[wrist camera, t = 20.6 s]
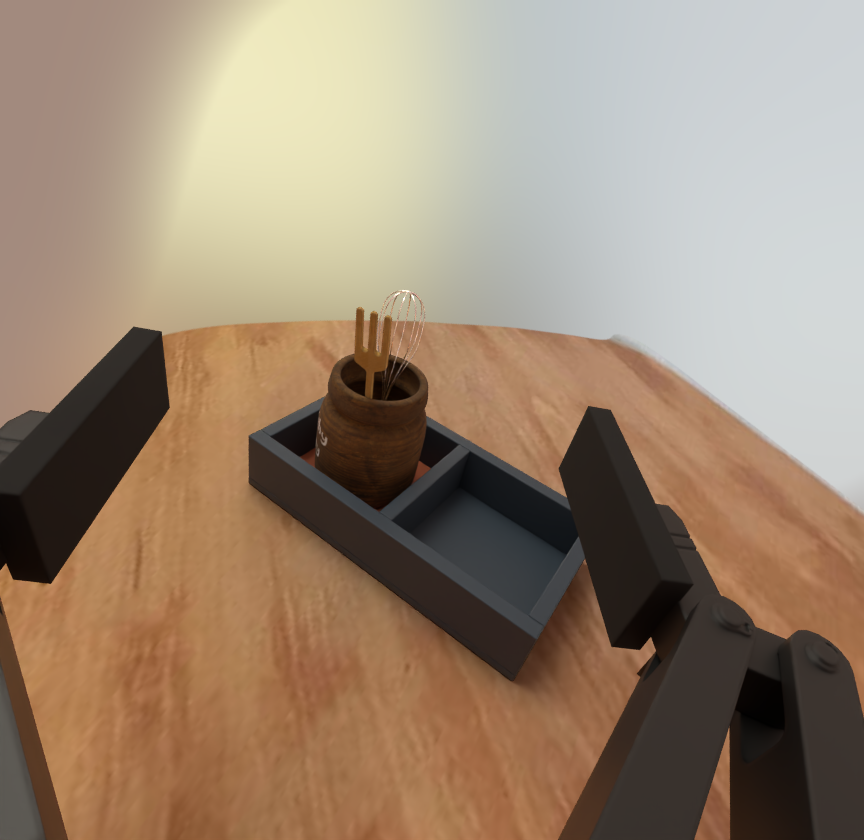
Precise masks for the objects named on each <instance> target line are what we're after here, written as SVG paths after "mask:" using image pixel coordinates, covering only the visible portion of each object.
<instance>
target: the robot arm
mask: <svg viewBox="0 0 864 840" xmlns="http://www.w3.org/2000/svg"><path fill="white" fill-rule="evenodd" d="M169 408H170V406H169V397H168V387H167V378H166V369H165V359H164V350H163V341H162V332H161V331H155V330H150V329H143V328H138V327H133V328H132V329H131V330H130V331H129V332H128V333H127V334H126V335H125V336H124V337H123V338H122V339H121V340H120V341H119V342H118V343H117V344H116V345H115V346H114V347H113V348H112V350H110V351H109V353H108V354H107V355H106V356H105V357H104V358H103V359H102V360H101V361H100V362H99V363H98V364H97V365H96V366H95V367H94V368H93V369H92V370H91V371H90V372H89V373H88V374H87V375H86V376H85V377H84V378H83V379H82V380H81V382H79V383H78V384H77V385H76V386H75V387H74V388H73V390H71V392H70V393H69V394H68V395H67V396H66V397H65V398H64V399H63V400H62V401H61V402H60V403H59V404H58V405H57V406H56V407H55V408H54V409H53V410H52V411H51V412H50V413H45V412H39V411H32V410H30V411H28V412H26V413H24V414H22V415H20V416H18V417H16V418H14V419H12V420H10V421H8V422H7V423H6V424H5V425H4V426H3V427H1V428H0V570H1V569H2V567H3V566H4V565H5V564H7V566H8V569H9V571H10V573H11V576H12V578H13V580H22V581H31V582H40V583H49V584H51V583H52V581H53V580H54V579H55V577H56V576H57V574H58V573H59V571H60V570H61V568H62V567H63V565H64V564H65V562H66V561H67V559H68V558H69V556H70V555H71V553H72V552H73V550H74V549H75V547H76V546H77V544H78V543H79V541H80V540H81V538H82V537H83V535H84V534H85V533H86V531H87V530H88V528H89V527H90V525H91V524H92V522H93V521H94V519H95V518H96V516H97V515H98V513H99V512H100V510H101V509H102V507H103V506H104V504H105V503H106V501H107V500H108V498H109V497H110V495H111V494H112V492H113V491H114V490H115V488H116V487H117V485H118V484H119V482H120V481H121V479H122V478H123V476H124V475H125V473H126V472H127V470H128V469H129V467H130V466H131V464H132V463H133V461H134V460H135V458H136V457H137V455H138V454H139V452H140V451H141V449H142V448H143V447H144V445H145V444H146V442H147V441H148V439H149V438H150V436H151V435H152V433H153V432H154V430H155V429H156V427H157V426H158V424H159V423H160V421H161V420H162V418H163V417H164V415H165V414H166V412H167V411H168V409H169ZM559 472H560V475H561V478H562V482H563V485H564V488H565V492H566V495H567V499H568V502H569V505H570V509H571V512H572V515H573V519H574V522H575V525H576V529H577V532H578V536H579V539H580V542H581V546H582V549H583V552H584V556H585V559H586V563H587V566H588V569H589V573H590V576H591V579H592V583H593V586H594V589H595V593H596V596H597V600H598V603H599V606H600V610H601V613H602V616H603V620H604V623H605V627H606V630H607V633H608V637H609V640H610V643H611V647H618V648H627V649H636V650H640V649H641V648H642V647H643V646H644V644H645V643H646V642H647V641H648V639H649V638H650V637H651V638H652V641H653V644H654V646H655V649H656V652H655V653H654V654H653V656H652V657H651V658H650V659H649V660H648V661H647V663H646V664H645V665H644V666H643V667H642V668H641V670H640V671H639V672H638V673H637V674H638V675H639V676H640V679H639V681H638V683H637V685H636V687H635V689H634V691H633V693H632V695H631V697H630V699H629V701H628V703H627V705H626V707H625V709H624V711H623V713H622V715H621V717H620V719H619V721H618V723H617V725H616V727H615V729H614V730H613V732H612V734H611V736H610V738H609V740H608V742H607V744H606V746H605V748H604V750H603V752H602V754H601V756H600V758H599V760H598V762H597V764H596V766H595V768H594V770H593V772H592V774H591V776H590V778H589V780H588V782H587V784H586V786H585V788H584V790H583V791H582V793H581V795H580V797H579V799H578V801H577V803H576V805H575V807H574V809H573V811H572V813H571V815H570V817H569V819H568V821H567V823H566V825H565V827H564V829H563V831H562V833H561V835H560V837H559V839H558V840H694V838H695V835H696V832H697V829H698V825H699V822H700V819H701V816H702V812H703V809H704V806H705V803H706V800H707V796H708V793H709V790H710V787H711V783H712V780H713V777H714V774H715V771H716V767H717V764H718V761H719V758H720V754H721V751H722V748H723V745H724V742H725V738H726V735H727V732H728V729H729V725H730V840H864V717H863V713H862V708H861V704H860V700H859V695H858V691H857V686H856V682H855V677H854V673H853V670H852V668H851V666H850V663H849V661H848V660H847V659H846V658H845V656H844V655H843V654H842V652H841V651H840V650H839V649H838V648H837V647H835V646H834V645H833V644H832V643H831V642H830V641H828V640H827V639H825V638H823V637H822V636H820V635H819V634H816V633H813V632H810V631H807V630H798V631H796V632H795V633H794V634H792V635H791V636H790V637H789V638H788V639H787V640H786V639H784V638H782V637H779V636H777V635H774V634H772V633H769V632H767V631H764V630H762V629H760V628H757V627H755V625H754V623H753V621H752V619H751V618H750V617H749V615H748V614H747V613H746V612H745V610H744V609H742V608H741V607H740V606H739V605H737V604H736V603H735V602H733V601H731V600H730V599H728V598H726V597H724V596H721V595H720V593H719V591H718V589H717V587H716V585H715V583H714V581H713V580H712V578H711V576H710V574H709V572H708V570H707V568H706V566H705V564H704V562H703V560H702V558H701V556H700V554H699V552H698V551H696V547H695V545H694V543H693V541H692V539H690V535H689V533H688V531H687V529H686V527H685V525H684V523H683V521H682V520H681V519H680V518H679V517H678V516H677V514H676V513H675V512H674V511H673V510H672V509H671V508H670V507H669V506H667V505H660V504H655V502H654V500H653V497H652V495H651V493H650V491H649V489H648V487H647V485H646V483H645V481H644V479H643V477H642V474H641V472H640V470H639V468H638V466H637V464H636V462H635V460H634V458H633V456H632V453H631V451H630V449H629V447H628V445H627V443H626V441H625V439H624V437H623V435H622V433H621V430H620V428H619V426H618V424H617V422H616V420H615V418H614V416H613V414H612V412H611V410H608V409H602V408H597V407H591V406H588V408H587V410H586V412H585V414H584V416H583V419H582V421H581V423H580V425H579V427H578V429H577V431H576V433H575V435H574V438H573V440H572V442H571V444H570V446H569V448H568V450H567V452H566V454H565V456H564V459H563V461H562V463H561V465H560V467H559ZM0 840H68V838H67V834H66V830H65V827H64V823H63V820H62V816H61V813H60V809H59V805H58V802H57V798H56V795H55V791H54V787H53V784H52V780H51V777H50V773H49V770H48V766H47V762H46V759H45V755H44V752H43V748H42V744H41V741H40V737H39V734H38V730H37V727H36V723H35V719H34V716H33V712H32V709H31V705H30V701H29V698H28V694H27V691H26V687H25V684H24V680H23V676H22V673H21V669H20V666H19V662H18V658H17V655H16V651H15V648H14V644H13V641H12V637H11V633H10V630H9V626H8V623H7V619H6V615H5V612H4V608H3V605H2V601H1V598H0Z"/></svg>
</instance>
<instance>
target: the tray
mask: <svg viewBox="0 0 864 840" xmlns="http://www.w3.org/2000/svg"><path fill="white" fill-rule="evenodd" d="M324 398H325V397H323V398H321V399H319V400H317V401H315V402H313V403H311V404H309V405H307V406H305V407H303V408H302V409H300V410H298V411H296V412H294V413H292V414H290V415H288V416H286V417H284V418H282V419H280V420H278V421H276V422H275V423H273V424H271V425H269V426H267V427H265V428H263V429H261V430H259V431H257V432H255V433H253V434H251V435H249V483H250V484H251V485H252V486H254V487H255V488H256V489H258V490H259V491H260V492H262V493H263V494H264V495H266V496H267V497H268V498H270V499H271V500H272V501H274V502H275V503H276V504H278V505H279V506H280V507H282V508H283V509H284V510H286V511H287V512H288V513H290V514H291V515H292V516H294V517H295V518H296V519H298V520H299V521H300V522H302V523H303V524H304V525H306V526H307V527H308V528H310V529H311V530H312V531H313V532H315V533H316V534H317V535H319V536H320V537H321V538H323V539H324V540H325V541H327V542H328V543H329V544H331V545H332V546H333V547H335V548H336V549H337V550H339V551H340V552H341V553H343V554H344V555H345V556H347V557H348V558H349V559H351V560H352V561H353V562H355V563H356V564H357V565H359V566H360V567H361V568H363V569H364V570H365V571H367V572H368V573H369V574H371V575H372V576H373V577H375V578H376V579H377V580H379V581H380V582H381V583H382V584H384V585H385V586H386V587H388V588H389V589H390V590H392V591H393V592H394V593H396V594H397V595H398V596H400V597H401V598H402V599H404V600H405V601H406V602H408V603H409V604H410V605H412V606H413V607H414V608H416V609H417V610H418V611H420V612H421V613H422V614H424V615H425V616H426V617H428V618H429V619H430V620H432V621H433V622H434V623H436V624H437V625H438V626H440V627H441V628H442V629H444V630H445V631H446V632H447V633H449V634H450V635H451V636H453V637H454V638H455V639H457V640H458V641H459V642H461V643H462V644H463V645H465V646H466V647H467V648H469V649H470V650H471V651H473V652H474V653H475V654H477V655H478V656H479V657H481V658H482V659H483V660H485V661H486V662H487V663H489V664H490V665H491V666H493V667H494V668H495V669H497V670H498V671H499V672H501V673H502V674H503V675H505V676H506V677H507V678H509V679H510V680H511V681H514V679H515V677H516V675H517V674H518V672H519V670H520V669H521V667H522V665H523V663H524V662H525V660H526V658H527V657H528V655H529V653H530V652H531V650H532V648H533V646H534V645H535V643H536V641H537V640H538V638H539V636H540V634H541V633H542V631H543V629H544V628H545V626H546V624H547V622H548V621H549V619H550V617H551V616H552V614H553V612H554V610H555V609H556V607H557V605H558V604H559V602H560V600H561V598H562V597H563V595H564V593H565V592H566V590H567V588H568V587H569V585H570V583H571V581H572V580H573V578H574V576H575V575H576V573H577V571H578V569H579V568H580V566H581V564H582V563H583V561H584V559H585V556H584V552H583V549H582V546H581V542H580V539H579V536H578V532H577V529H576V525H575V522H574V519H573V515H572V512H571V509H570V505H569V502H568V499H567V498H566V497H564V496H563V495H561V494H559V493H558V492H556V491H554V490H552V489H551V488H549V487H547V486H546V485H544V484H542V483H541V482H539V481H537V480H535V479H534V478H532V477H530V476H529V475H527V474H525V473H523V472H522V471H520V470H518V469H517V468H515V467H513V466H511V465H510V464H508V463H506V462H505V461H503V460H501V459H499V458H498V457H496V456H494V455H493V454H491V453H489V452H487V451H486V450H484V449H482V448H481V447H479V446H477V445H475V444H474V443H472V442H470V441H469V440H467V439H465V438H463V437H462V436H460V435H458V434H457V433H455V432H453V431H451V430H450V429H448V428H446V427H445V426H443V425H441V424H439V423H438V422H436V421H434V420H433V419H431V418H429V417H427V416H426V418H427V426H426V433H425V438H424V443H423V447H422V451H421V455H420V459H419V463H418V467H417V470H416V474H415V477H414V480H413V482H412V484H411V486H409V487H408V488H407V489H406V490H405V491H403V492H402V493H401V494H400V495H399V496H397V497H396V498H395V499H394V500H393V501H391V502H390V503H389V504H388V505H385V506H381V507H374V508H372V507H371V506H369V505H368V504H366V503H365V502H364V501H362V500H361V499H359V498H358V497H356V496H355V495H353V494H352V493H351V492H349V491H348V490H346V489H345V488H343V487H342V486H340V485H339V484H338V483H336V482H335V481H333V480H332V479H330V478H329V477H327V476H326V475H325V474H323V473H322V472H320V471H319V470H317V469H316V468H315V447H316V436H317V426H318V418H319V412H320V408H321V405H322V402H323V400H324Z"/></svg>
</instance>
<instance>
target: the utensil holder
mask: <svg viewBox="0 0 864 840" xmlns="http://www.w3.org/2000/svg"><path fill="white" fill-rule="evenodd" d="M402 291H404V292H407V293H410V299H411V295H412V294H413V295H415V296H416V297H417V298H418V299H419V300H420V298H419V297H418V296H417V295H416V294H415V293H413V292H410V291H406V290H401V292H399V291H396V292H399V293H398V294H396V295H397V296H398V295H399V294H400V293H404V292H402ZM396 292H393V293H396ZM393 293H392V294H393ZM407 293H406V295H407ZM392 294H390V295H392ZM390 295H389V296H390ZM396 295H395V296H396ZM406 295H405V297H406ZM389 296H388V297H387V299H388V298H389ZM395 296H393V297H392V299H393V298H394V297H395ZM397 296H396V297H397ZM405 297H404V299H405ZM412 297H413V296H412ZM387 299H386V300H387ZM392 299H391V300H392ZM404 299H403V301H404ZM413 299H414V297H413ZM386 300H385V302H386ZM391 300H390V301H391ZM395 300H396V298H395ZM395 300H394V302H395ZM385 302H384V303H385ZM420 302H421V310H422V305H423V303H422V301H421V300H420ZM414 303H415V300H414ZM388 304H389V302H388ZM388 304H387V306H388ZM402 304H403V302H402ZM402 304H401V306H402ZM393 305H394V303H393ZM383 306H384V304H383ZM387 306H386V308H387ZM409 306H410V301H409ZM386 308H385V310H386ZM423 308H424V306H423ZM392 309H393V306H392ZM382 310H383V307H382ZM400 310H401V307H400ZM408 311H409V307H408ZM391 312H392V310H391ZM381 313H382V311H381ZM384 314H385V312H384ZM399 314H400V311H399ZM370 315H371V316H370V328H369V342H368V349H367V348H364V346H363V327H364V309H363V308H362V307H358V308H357V311H356V332H355V354H352V355H349V356H346V357H344V358H342V359H341V360H339V361H338V362H337V363H336V364H335V366H334V367H333V370H332V372H331V375H330V378H329V382H328V393H327V395H326V396H325V398H324V400H323V402H322V405H321V408H320V412H319V418H318V426H317V436H316V447H315V468H316V469H317V470H319V471H320V472H322V473H323V474H325V475H326V476H327V477H329V478H330V479H332V480H333V481H335V482H336V483H338V484H339V485H340V486H342V487H343V488H345V489H346V490H348V491H349V492H351V493H352V494H353V495H355V496H356V497H358V498H359V499H361V500H362V501H364V502H365V503H366V504H368V505H369V506H371V507H372V508H374V507H381V506H385V505H388V504H389V503H390V502H391V501H393V500H394V499H395V498H396V497H397V496H399V495H400V494H401V493H402V492H403V491H405V490H406V489H407V488H408V487H409V486H411V484H412V482H413V480H414V477H415V474H416V470H417V467H418V463H419V459H420V455H421V451H422V447H423V443H424V438H425V433H426V426H427V418H426V412H425V407H426V404H427V400H428V382H427V379H426V377H425V375H424V374H423V373H422V372H421V370H420V369H418V368H417V367H416V366H415V365H413V364H412V363H410V360H411V359H412V357H413V356H414V354H415V352H416V350H417V348H418V346H417V348H416V350H415V352H414V354H413V356H412V357H411V359H410V360H409V362H408V361H406V359H407V358H406V359H405V357H406V355H407V352H408V349H409V346H410V343H409V346H408V349H407V352H406V355H405V357H404V359H405V360H404V359H402V358H399V357H397V355H398V352H397V355H396V356H393V355H391V351H390V355H389V347H390V336H391V325H392V318H391V314H390V316H388V315H387V316H385V319H384V328H383V339H382V349H381V353H380V352H379V339H378V340H377V350H378V352H377V350H376V339H377V337H378V328H377V323H378V314H377V312H375V311H373V312H371V314H370ZM407 315H408V313H407ZM421 315H422V312H421ZM380 318H381V314H380ZM383 318H384V315H383ZM398 318H399V315H398ZM398 318H397V322H398ZM415 319H416V303H415ZM424 319H425V310H424ZM406 320H407V317H406ZM420 321H421V317H420ZM424 321H425V320H424ZM424 321H423V326H424ZM379 322H380V319H379ZM382 323H383V319H382ZM382 323H381V327H382ZM405 324H406V321H405ZM414 325H415V320H414ZM414 325H413V329H414ZM419 326H420V322H419ZM423 326H422V331H423ZM378 327H379V323H378ZM381 327H380V332H381ZM396 327H397V323H396ZM396 327H395V331H396ZM404 329H405V325H404ZM404 329H403V333H404ZM418 330H419V327H418ZM395 331H394V335H395ZM422 331H421V335H422ZM380 332H379V338H380ZM403 333H402V337H403ZM412 334H413V330H412ZM412 334H411V338H412ZM417 334H418V331H417ZM402 337H401V341H402ZM416 338H417V335H416ZM416 338H415V341H416ZM420 339H421V336H420ZM393 340H394V336H393ZM393 340H392V345H393ZM401 341H400V344H401ZM415 341H414V343H415ZM410 342H411V339H410ZM419 342H420V340H419ZM392 345H391V350H392ZM418 345H419V343H418ZM413 346H414V344H413ZM413 346H412V348H413ZM399 348H400V345H399ZM399 348H398V351H399ZM412 348H411V350H412ZM411 350H410V352H411ZM410 352H409V354H410ZM409 354H408V356H409ZM408 356H407V357H408Z"/></svg>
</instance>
